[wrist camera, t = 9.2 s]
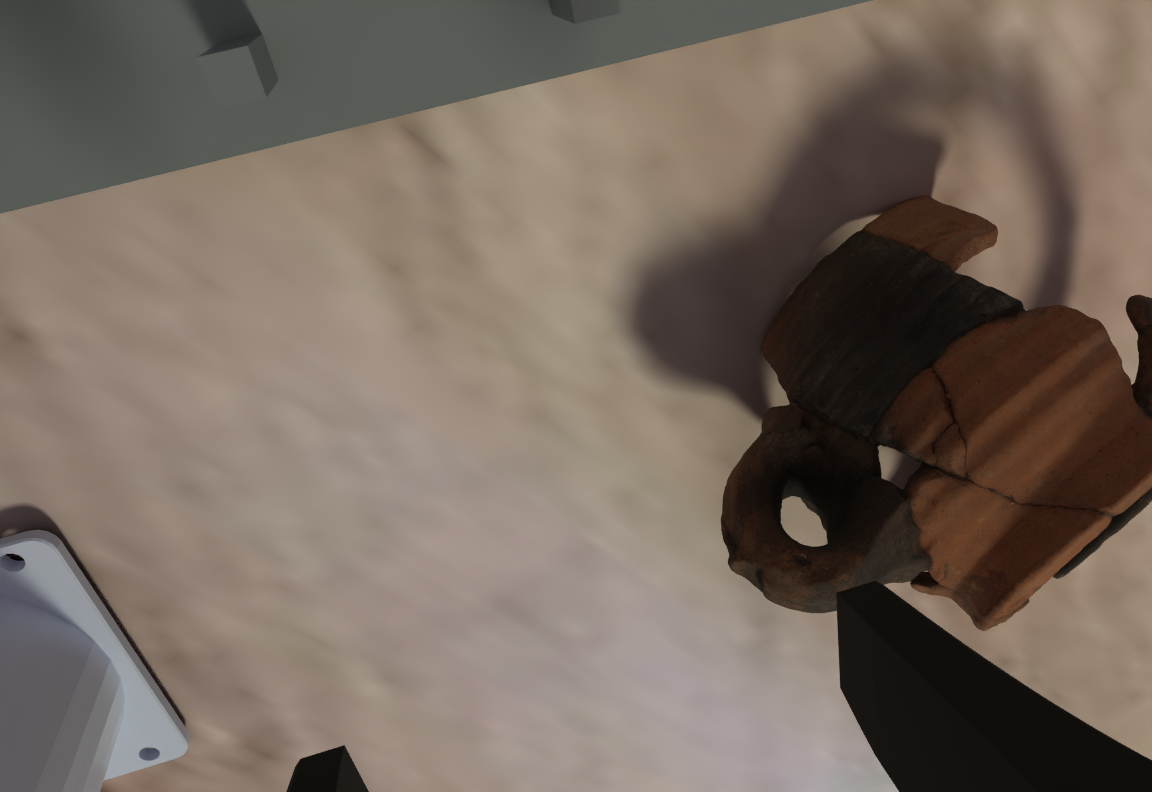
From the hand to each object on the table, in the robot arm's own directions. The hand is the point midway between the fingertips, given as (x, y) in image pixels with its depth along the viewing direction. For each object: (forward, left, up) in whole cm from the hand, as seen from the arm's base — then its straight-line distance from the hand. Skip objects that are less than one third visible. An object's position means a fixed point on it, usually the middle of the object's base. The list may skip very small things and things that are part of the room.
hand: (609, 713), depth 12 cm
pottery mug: (+10, -3, -10) cm, 14 cm away
